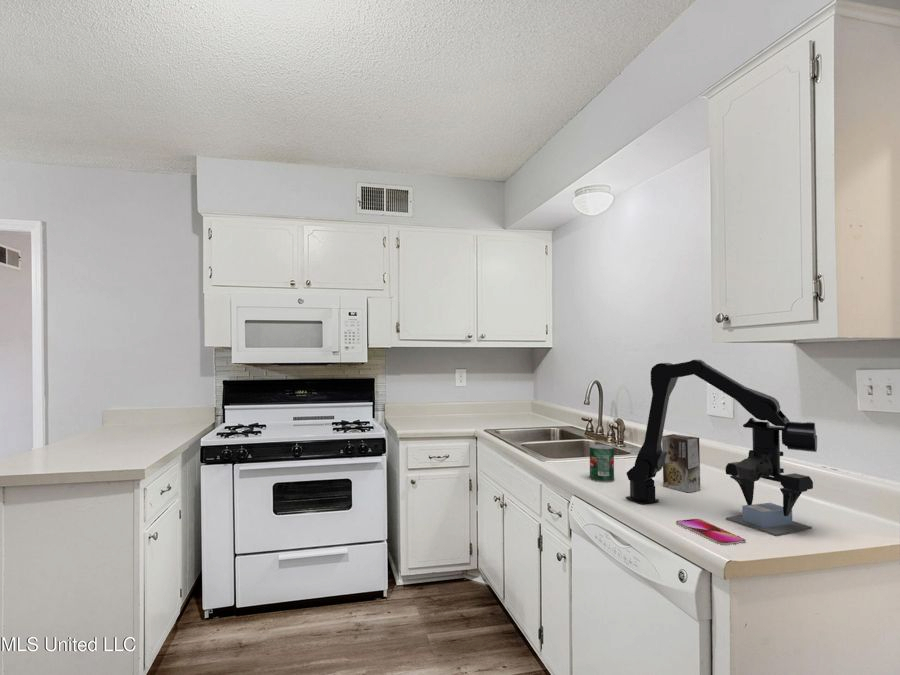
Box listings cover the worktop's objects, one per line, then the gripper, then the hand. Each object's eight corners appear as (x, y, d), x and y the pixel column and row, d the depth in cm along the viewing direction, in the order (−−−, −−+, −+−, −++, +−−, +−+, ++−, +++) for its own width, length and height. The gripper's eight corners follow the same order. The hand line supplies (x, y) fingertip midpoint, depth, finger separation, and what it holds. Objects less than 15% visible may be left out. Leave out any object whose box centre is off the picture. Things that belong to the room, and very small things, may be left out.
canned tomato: (585, 477, 171) (584, 444, 172) (604, 475, 174) (604, 443, 174) (598, 483, 164) (598, 449, 164) (619, 481, 166) (619, 447, 167)
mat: (725, 519, 128) (725, 517, 128) (759, 512, 133) (759, 511, 133) (776, 536, 116) (776, 534, 116) (811, 528, 121) (811, 526, 122)
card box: (770, 516, 129) (770, 502, 129) (792, 524, 123) (792, 509, 123) (742, 519, 126) (742, 505, 127) (763, 527, 121) (763, 512, 121)
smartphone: (721, 543, 111) (673, 520, 125) (721, 548, 111) (673, 524, 125) (748, 540, 112) (698, 518, 127) (748, 545, 112) (698, 522, 127)
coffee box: (701, 490, 155) (700, 437, 156) (688, 493, 152) (687, 439, 152) (674, 483, 163) (673, 433, 164) (662, 486, 160) (661, 435, 160)
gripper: (710, 443, 131) (711, 504, 130) (782, 456, 114) (784, 526, 113) (739, 440, 135) (740, 499, 135) (813, 452, 118) (815, 520, 118)
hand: (767, 510), depth 125 cm, fingers open, 9 cm apart
